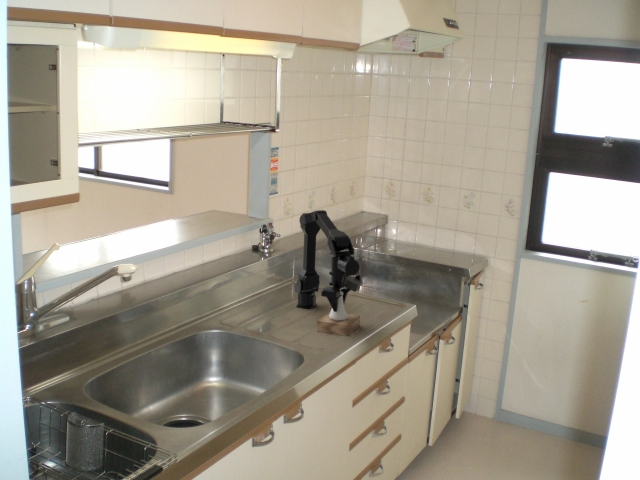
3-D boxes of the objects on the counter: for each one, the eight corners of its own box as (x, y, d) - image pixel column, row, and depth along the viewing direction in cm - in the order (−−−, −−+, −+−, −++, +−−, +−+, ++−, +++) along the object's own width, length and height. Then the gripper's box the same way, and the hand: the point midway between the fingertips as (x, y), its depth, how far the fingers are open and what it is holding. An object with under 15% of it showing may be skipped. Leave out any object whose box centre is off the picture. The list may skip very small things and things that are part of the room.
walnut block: (317, 330, 257) (317, 320, 256) (331, 321, 267) (331, 311, 267) (346, 335, 252) (346, 325, 251) (359, 325, 262) (359, 315, 261)
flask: (335, 322, 254) (335, 296, 252) (325, 316, 260) (325, 291, 258) (352, 319, 258) (352, 293, 255) (341, 313, 264) (341, 288, 261)
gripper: (348, 277, 243) (348, 320, 246) (369, 265, 259) (368, 305, 263) (320, 273, 248) (320, 315, 251) (342, 262, 264) (341, 301, 267)
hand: (338, 309), depth 258 cm, fingers open, 6 cm apart
